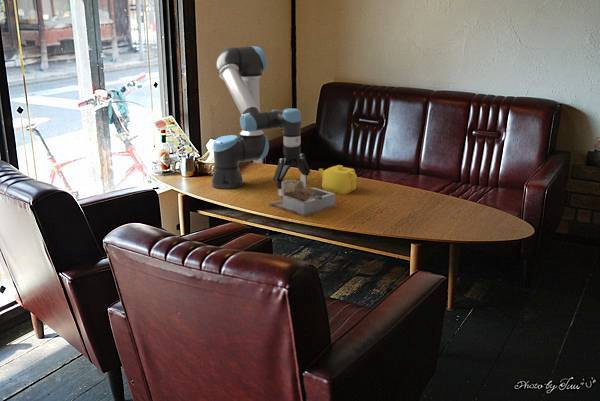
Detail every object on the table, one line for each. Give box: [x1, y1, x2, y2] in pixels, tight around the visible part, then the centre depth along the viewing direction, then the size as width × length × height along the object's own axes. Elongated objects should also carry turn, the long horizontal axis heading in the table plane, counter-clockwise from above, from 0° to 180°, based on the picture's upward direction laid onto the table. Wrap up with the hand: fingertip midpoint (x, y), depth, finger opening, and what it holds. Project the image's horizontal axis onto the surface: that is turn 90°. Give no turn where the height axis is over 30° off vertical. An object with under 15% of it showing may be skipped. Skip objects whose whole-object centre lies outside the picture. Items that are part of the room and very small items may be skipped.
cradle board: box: [268, 197, 336, 218], centre depth 280 cm, size 22×19×1 cm
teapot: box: [318, 164, 358, 195], centre depth 302 cm, size 20×12×12 cm, turn 57°
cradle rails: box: [283, 187, 336, 214], centre depth 276 cm, size 14×19×5 cm
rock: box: [280, 178, 311, 201], centre depth 283 cm, size 11×12×10 cm
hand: (292, 192), depth 283 cm, fingers open, 13 cm apart
